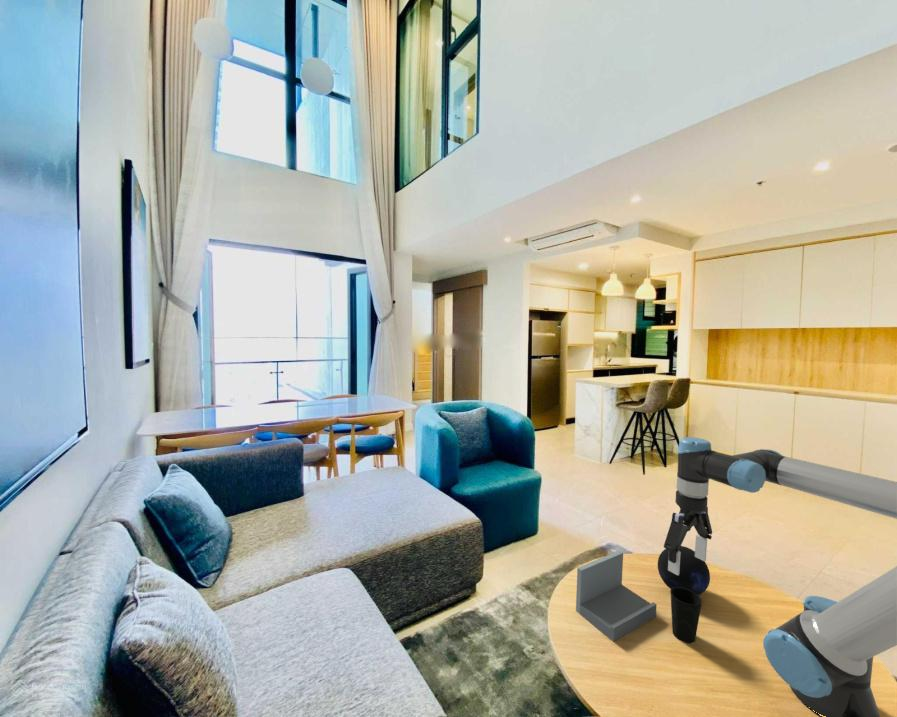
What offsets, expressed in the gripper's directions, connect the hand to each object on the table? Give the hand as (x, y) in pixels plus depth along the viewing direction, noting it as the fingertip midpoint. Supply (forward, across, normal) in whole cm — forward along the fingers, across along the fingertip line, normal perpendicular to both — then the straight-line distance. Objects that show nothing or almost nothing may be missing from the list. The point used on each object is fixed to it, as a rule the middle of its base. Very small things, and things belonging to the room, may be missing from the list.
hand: (687, 565), depth 107 cm
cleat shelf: (+21, +10, -15) cm, 28 cm away
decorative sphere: (+21, -19, -11) cm, 30 cm away
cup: (+21, 0, 0) cm, 21 cm away
